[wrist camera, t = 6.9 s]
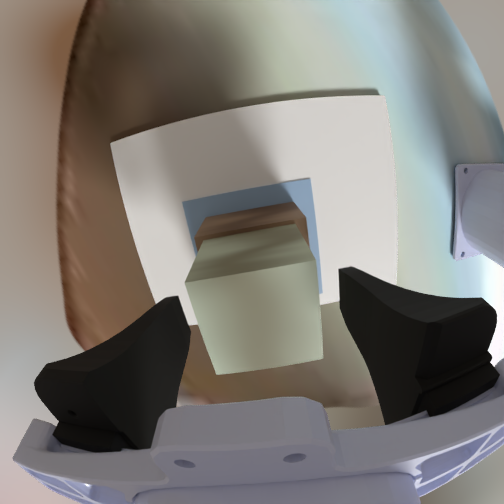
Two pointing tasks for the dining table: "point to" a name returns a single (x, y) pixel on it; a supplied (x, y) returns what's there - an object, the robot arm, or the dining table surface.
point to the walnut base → (252, 222)
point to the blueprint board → (265, 184)
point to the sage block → (257, 300)
